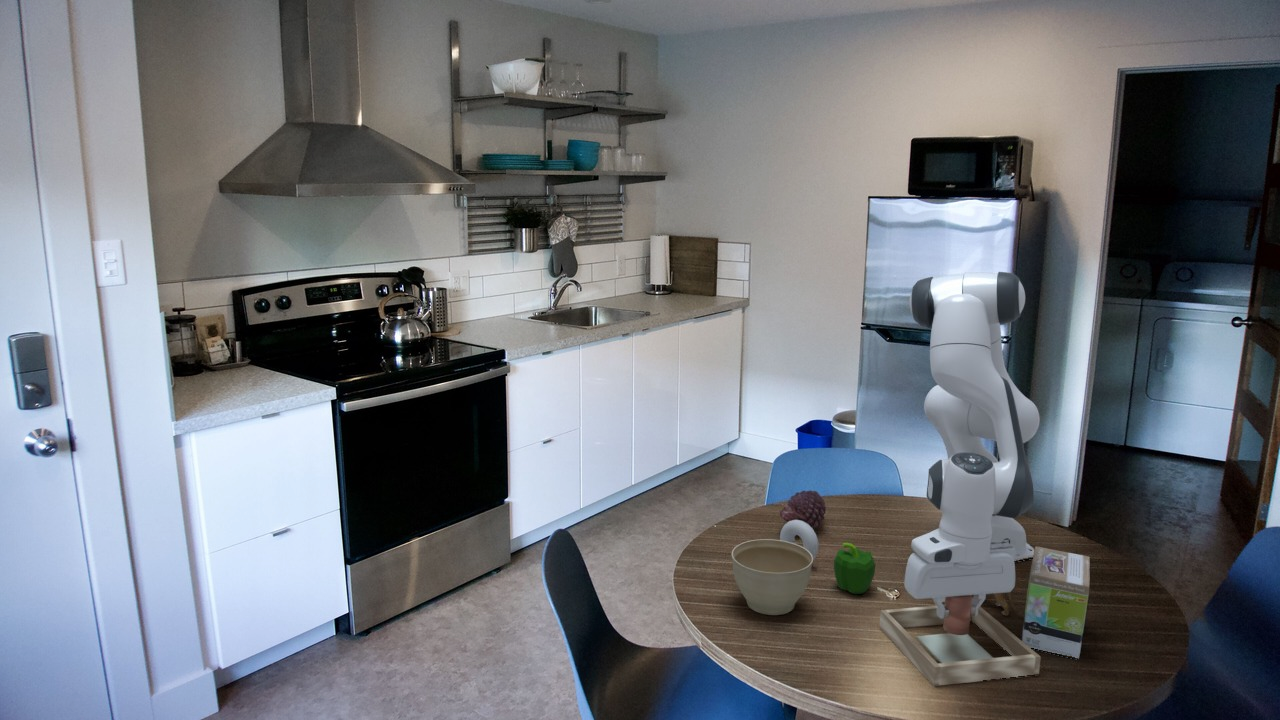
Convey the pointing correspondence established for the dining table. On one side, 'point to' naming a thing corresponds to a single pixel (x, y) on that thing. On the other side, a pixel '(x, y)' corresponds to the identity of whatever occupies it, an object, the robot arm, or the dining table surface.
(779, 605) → the planter bowl
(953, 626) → the reddish pink cylinder
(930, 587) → the robot arm
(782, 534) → the donut
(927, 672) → the corral
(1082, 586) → the tea box
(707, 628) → the dining table surface
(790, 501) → the pine cone
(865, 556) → the bell pepper
